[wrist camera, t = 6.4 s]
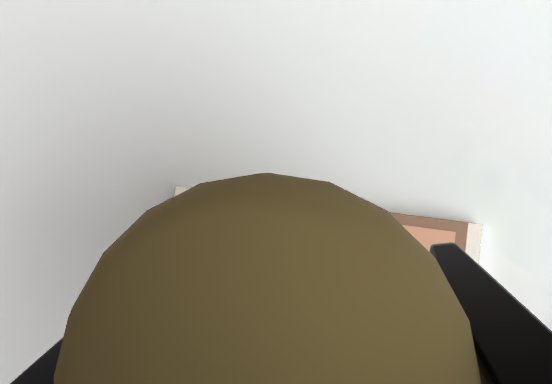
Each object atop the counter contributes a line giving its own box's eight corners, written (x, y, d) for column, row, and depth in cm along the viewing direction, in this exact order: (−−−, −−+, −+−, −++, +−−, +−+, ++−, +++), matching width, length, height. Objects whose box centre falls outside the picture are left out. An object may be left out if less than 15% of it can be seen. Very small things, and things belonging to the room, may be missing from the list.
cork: (355, 484, 15) (276, 975, 4) (200, 344, 16) (-143, 432, 6) (483, 312, 15) (721, 357, 4) (315, 191, 16) (190, 6, 6)
